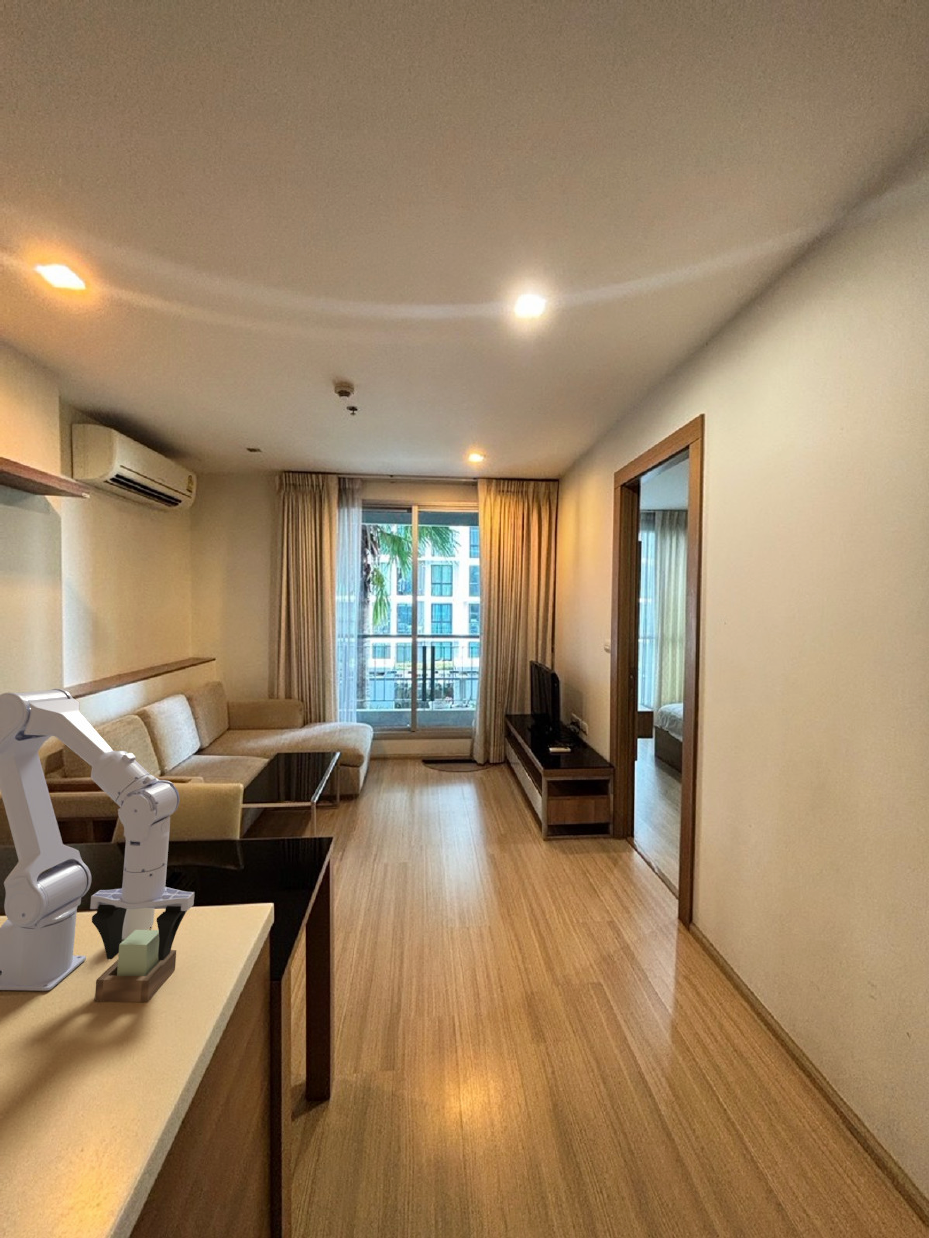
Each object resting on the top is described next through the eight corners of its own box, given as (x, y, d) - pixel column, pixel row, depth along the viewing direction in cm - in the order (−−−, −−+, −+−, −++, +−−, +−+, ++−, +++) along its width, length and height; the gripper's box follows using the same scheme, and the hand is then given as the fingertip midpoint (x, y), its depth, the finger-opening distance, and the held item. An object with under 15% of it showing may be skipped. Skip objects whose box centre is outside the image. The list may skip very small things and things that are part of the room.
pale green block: (115, 993, 75) (119, 944, 76) (132, 975, 79) (135, 929, 80) (143, 993, 76) (146, 944, 76) (158, 976, 79) (161, 929, 80)
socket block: (94, 1001, 73) (96, 979, 74) (127, 968, 81) (128, 949, 81) (147, 1001, 74) (149, 980, 74) (175, 969, 81) (176, 950, 81)
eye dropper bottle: (115, 932, 91) (120, 863, 91) (151, 922, 94) (156, 856, 95) (119, 943, 87) (124, 872, 88) (156, 932, 91) (161, 863, 92)
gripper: (205, 855, 83) (199, 941, 82) (114, 853, 82) (107, 939, 81) (183, 874, 76) (176, 969, 75) (83, 872, 75) (75, 967, 74)
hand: (139, 955), depth 78 cm, fingers open, 7 cm apart
